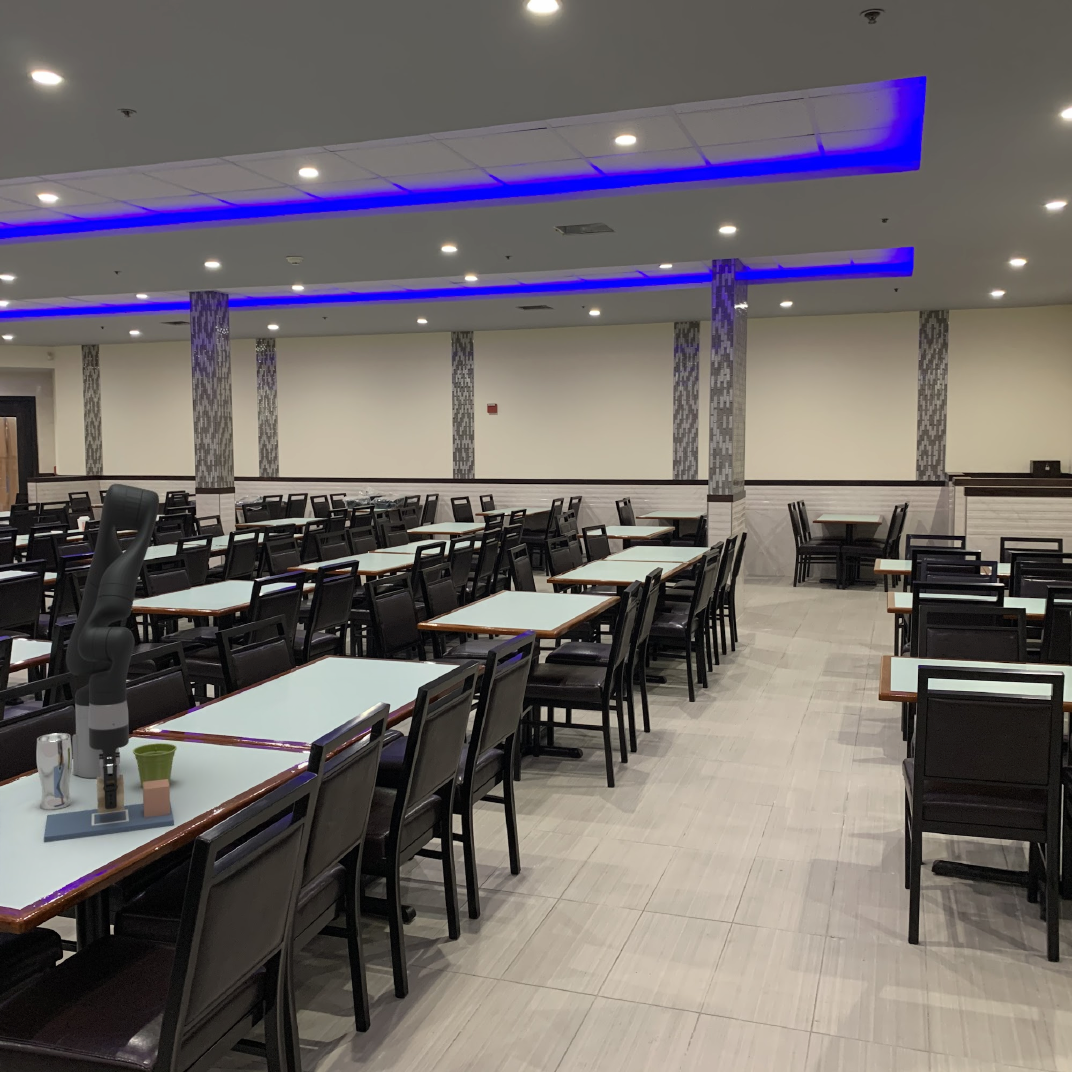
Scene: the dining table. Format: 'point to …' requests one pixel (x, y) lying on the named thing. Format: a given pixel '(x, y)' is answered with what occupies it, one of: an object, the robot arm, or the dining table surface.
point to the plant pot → (154, 761)
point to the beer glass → (54, 769)
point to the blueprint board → (101, 822)
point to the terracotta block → (156, 798)
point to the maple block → (102, 795)
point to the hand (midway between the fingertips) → (110, 803)
